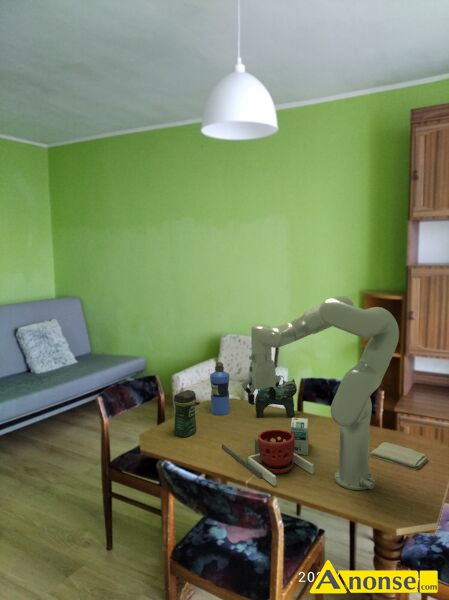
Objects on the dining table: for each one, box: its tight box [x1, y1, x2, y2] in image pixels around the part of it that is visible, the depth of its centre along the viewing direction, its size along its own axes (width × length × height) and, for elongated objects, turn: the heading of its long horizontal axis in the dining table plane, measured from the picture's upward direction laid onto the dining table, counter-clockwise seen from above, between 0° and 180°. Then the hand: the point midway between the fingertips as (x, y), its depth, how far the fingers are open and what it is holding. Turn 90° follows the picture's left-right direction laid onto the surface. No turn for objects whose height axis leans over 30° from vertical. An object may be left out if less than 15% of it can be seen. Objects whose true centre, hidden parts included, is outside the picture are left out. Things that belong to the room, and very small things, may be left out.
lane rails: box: [221, 439, 273, 480], centre depth 168 cm, size 28×19×2 cm
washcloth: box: [369, 441, 428, 471], centre depth 165 cm, size 12×18×3 cm, turn 47°
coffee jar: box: [173, 389, 197, 438], centre depth 190 cm, size 10×8×19 cm
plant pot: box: [257, 429, 295, 474], centre depth 159 cm, size 13×13×12 cm
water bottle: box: [209, 361, 230, 417], centre depth 214 cm, size 9×9×25 cm
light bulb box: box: [290, 417, 309, 456], centre depth 174 cm, size 11×7×11 cm, turn 168°
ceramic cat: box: [254, 375, 298, 419], centre depth 208 cm, size 20×6×20 cm, turn 89°
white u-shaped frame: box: [246, 438, 315, 486], centre depth 159 cm, size 22×17×6 cm
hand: (262, 401), depth 167 cm, fingers open, 9 cm apart
